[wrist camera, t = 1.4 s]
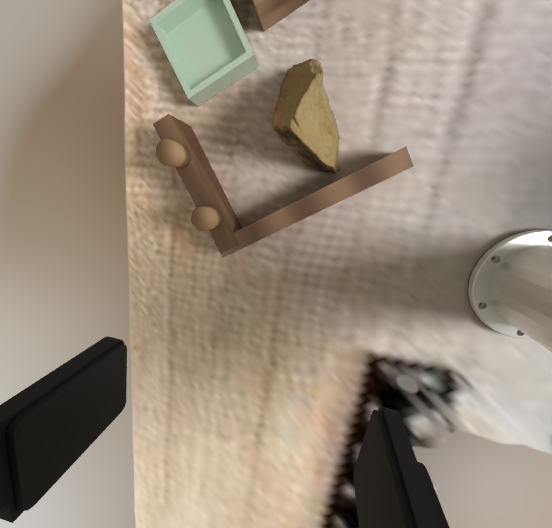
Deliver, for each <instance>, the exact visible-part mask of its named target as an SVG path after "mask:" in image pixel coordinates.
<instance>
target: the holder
mask: <svg viewBox="0 0 552 528" xmlns="http://www.w3.org/2000/svg"><path fill="white" fill-rule="evenodd" d="M250 1H251V3H252V5H253V7H254V10H255V12H256V14H257V17H258V19H259V21H260V24H261V26H262V28H263V30H264V31H265V30H267V29H268V28H270V27H271V26H273V25H274V24H276V23H277V22H278V21H280V20H281V19H283V18H284V17H286V16H287V15H289V14H290V13H292V12H293V11H294V10H296V9H297V8H299V7H300V6H302V5H303V4H305V3H306V2H307V1H309V0H250Z"/></svg>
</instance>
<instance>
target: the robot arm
mask: <svg viewBox="0 0 552 528" xmlns="http://www.w3.org/2000/svg"><path fill="white" fill-rule="evenodd" d="M492 257H493V258H492ZM491 258H492V259H491ZM468 292H469V300H470V303H471V307H472V309H473V310H474V312H475V314H476V315H477V316H478V317H479V318H480V320H481V321H482V322H483V323H485V324H486V325H487V326H489V327H490V328H491V329H493V330H495V331H497V332H499V333H501V334H504V335H507V336H509V337H515V338H526V339H533V340H535V341H536V342H538V343H539V344H541V345H542V346H544V347H545V348H547V349H549V350H550V351H552V230H531V231H526V232H521V233H518V234H515V235H513V236H510V237H507V238H506V239H504V240H502V241H500V242H499V243H497V244H496V245H494V246H493V247H492V248H491V249H489V250H488V251H487V252H486V253H485V254H484V255H483V256H482V257H481V259H480V260H479V261H478V263H477V264H476V266H475V268H474V269H473V272H472V275H471V277H470V281H469V287H468ZM126 364H127V347H126V345H124V342H123V341H122V340H120V339H115V338H112V337H105V338H103V339H102V340H100V341H99V342H97V343H95V344H94V345H92V346H91V347H89V348H88V349H86V350H85V351H83V352H82V353H80V354H79V355H77V356H75V357H74V358H72V359H71V360H69V361H68V362H66V363H65V364H63V365H61V366H60V367H58V368H57V369H55V370H54V371H52V372H51V373H49V374H48V375H46V376H44V377H43V378H41V379H40V380H38V381H37V382H35V383H34V384H32V385H31V386H29V387H28V388H26V389H24V390H23V391H21V392H20V393H18V394H17V395H15V396H14V397H12V398H11V399H9V400H8V401H6V402H4V403H3V404H1V405H0V518H1V519H3V520H6V521H9V522H12V523H13V522H14V521H15V520H16V519H17V517H18V516H20V514H21V513H22V512H23V511H24V510H28V509H30V508H31V507H33V506H34V505H35V504H36V503H37V502H38V501H39V500H40V499H41V498H42V496H43V495H44V494H45V493H46V492H47V491H48V490H49V489H50V488H51V487H52V486H53V484H55V483H56V481H57V480H58V479H59V478H60V477H61V476H62V475H63V474H64V473H65V472H66V470H68V469H69V468H70V466H71V465H72V464H73V463H74V462H75V461H76V460H77V459H78V457H80V456H81V454H82V453H84V451H85V450H86V449H87V448H88V447H89V446H90V445H91V444H92V443H93V442H94V441H95V440H96V439H97V437H98V436H99V435H100V434H101V433H102V432H103V431H104V430H105V429H106V428H107V427H108V426H109V425H110V424H111V422H112V421H113V420H114V419H115V418H116V417H117V416H118V415H119V414H120V413H121V412H122V410H123V409H124V407H125V404H126V372H127V365H126ZM354 486H355V495H356V504H357V512H358V521H359V528H449V526H448V523H447V520H446V518H445V515H444V513H443V510H442V508H441V505H440V502H439V500H438V497H437V495H436V492H435V489H434V487H433V484H432V482H431V479H430V476H429V474H428V472H427V469H426V467H425V466H424V465H423V464H422V463H419V462H417V460H416V457H415V454H414V452H413V449H412V446H411V443H410V440H409V437H408V435H407V432H406V429H405V426H404V424H403V421H402V418H401V415H400V413H399V412H398V411H396V410H392V409H388V408H384V407H380V408H379V410H378V411H377V410H374V411H373V413H372V415H371V419H370V422H369V425H368V428H367V431H366V434H365V437H364V440H363V443H362V446H361V449H360V452H359V456H358V459H357V462H356V465H355V468H354Z"/></svg>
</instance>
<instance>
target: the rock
mask: <svg viewBox="0 0 552 528" xmlns="http://www.w3.org/2000/svg"><path fill="white" fill-rule="evenodd" d="M273 129H274V130H275V132H276V133H277V134H278V136H279V137H280V139H281V140H282V141H283V142H284V143H285V144H287V145H288V146H291V147H292V148H293V149H294V151H295V153H296V154H297V155H298V157H299V158H300V159H301V160H302V161H303V162H304V163H306V164H308V165H310V166H312V167H314V168H316V169H318V170H320V171H324V172H333V173H337V172H338V170H339V167H338V164H337V161H338V147H339V141H338V140H339V134H338V130H337V124H336V120H335V118H334V115H333V112H332V110H331V109H330V105H329V99H328V97H327V94H326V92H325V90H324V89H323V69H322V67H321V64H320V63H319V62H318V61H317V60H315V59H309V60H307V61H305V62H303V63H300V64H297V65H293V67H292V68H290V69H289V70H288V72H287V74H286V77H285V78H284V80H283V83H282V85H281V88H280V96H279V98H278V102H277V105H276V109H275V113H274V116H273Z"/></svg>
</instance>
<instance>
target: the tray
mask: <svg viewBox="0 0 552 528" xmlns="http://www.w3.org/2000/svg"><path fill="white" fill-rule="evenodd" d="M149 21H150V23H151V25H152V27H153V29H154V31H155V33H156V35H157V37H158V39H159V41H160V43H161V45H162V47H163V49H164V51H165V53H166V55H167V57H168V59H169V61H170V63H171V65H172V67H173V69H174V71H175V73H176V75H177V77H178V79H179V81H180V83H181V85H182V87H183V89H184V91H185V93H186V95H187V97H188V99H189V100H190V101H192V102H193V103H194V104H196V105H197V106H200V105H201V104H203V103H204V102H206V101H207V100H209V99H210V98H212V97H213V96H215V95H216V94H218V93H219V92H221V91H222V90H224V89H225V88H227V87H228V86H230V85H232V84H233V83H235V82H236V81H238V80H239V79H241V78H242V77H244V76H245V75H247V74H248V73H250V72H251V71H253V70H254V69H256V68H257V67H259V64H258V62H257V60H256V58H255V55H254V53H253V51H252V49H251V46H250V44H249V42H248V40H247V37H246V35H245V33H244V31H243V28H242V26H241V24H240V22H239V19H238V17H237V15H236V13H235V11H234V8H233V6H232V4H231V2H230V0H175V1H173V2H172V3H171V4H170V5H168V6H167V7H166V8H165V9H163V10H162V11H161V12H160V13H158V14H157V15H156V16H154V17H153V18H152V19H151V20H149Z"/></svg>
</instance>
